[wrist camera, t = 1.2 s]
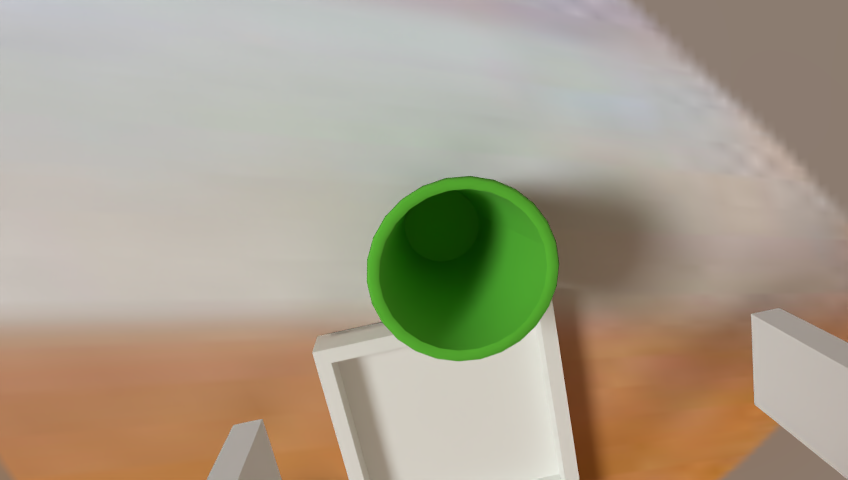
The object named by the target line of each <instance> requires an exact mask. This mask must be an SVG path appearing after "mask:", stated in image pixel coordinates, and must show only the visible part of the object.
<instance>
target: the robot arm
mask: <svg viewBox="0 0 848 480" xmlns="http://www.w3.org/2000/svg"><path fill="white" fill-rule="evenodd" d="M751 322H752V350H753V378H754V404H755V405H756V406H757V407H758V408H760V409H761V410H762V411H763V412H765V413H766V414H767V415H768V416H770V417H771V418H772V419H773V420H775V421H776V422H777V423H778V424H780V425H781V426H782V427H783V428H784V429H786V430H787V431H788V432H789V433H791V434H792V435H793V436H795V437H796V438H797V439H798V440H799V441H801V442H802V443H803V444H804V445H806V446H807V447H808V448H809V449H811V450H812V451H813V452H814V453H816V454H817V455H818V456H819V457H821V458H822V459H823V460H824V461H825V462H827V463H828V464H829V465H830V466H832V467H833V468H834V469H836V470H837V471H838V472H839V473H840V474H842V475H843V476H844V477H845V478H847V479H848V343H847V342H845V341H843V340H841V339H839V338H838V337H836V336H834V335H832V334H830V333H828V332H826V331H824V330H822V329H820V328H818V327H816V326H814V325H812V324H810V323H808V322H806V321H804V320H802V319H800V318H798V317H796V316H794V315H792V314H790V313H788V312H786V311H784V310H782V309H780V308H776V309H772V310H767V311H762V312H758V313H753V314H751ZM207 480H282V479H281V476H280V473H279V469H278V466H277V463H276V460H275V457H274V454H273V451H272V448H271V444H270V441H269V438H268V435H267V432H266V429H265V426H264V423H263V419H260V420H255V421H251V422H246V423H241V424H237V425H233V427H232V429H231V431H230V433H229V435H228V437H227V439H226V441H225V443H224V445H223V447H222V449H221V451H220V454H219V456H218V458H217V460H216V462H215V464H214V466H213V468H212V470H211V472H210V474H209V476H208V478H207Z"/></svg>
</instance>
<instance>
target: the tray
mask: <svg viewBox="0 0 848 480" xmlns="http://www.w3.org/2000/svg"><path fill="white" fill-rule="evenodd" d="M312 353H313V357H314V360H315V364H316V367H317V370H318V374H319V377H320V381H321V384H322V388H323V391H324V395H325V398H326V402H327V405H328V408H329V412H330V415H331V419H332V422H333V426H334V429H335V433H336V436H337V440H338V443H339V447H340V450H341V453H342V457H343V460H344V464H345V467H346V471H347V474H348V478H349V480H579V474H578V467H577V460H576V454H575V447H574V441H573V434H572V427H571V421H570V414H569V408H568V401H567V394H566V388H565V381H564V375H563V368H562V361H561V355H560V348H559V341H558V335H557V328H556V322H555V315H554V308H553V302H552V300H551V302H550V305H549V307H548V309H547V310H546V312H545V313H544V315H543V316H542V318H541V319H540V321H539V323H538V324H537V326H536V327H535V328H534V329H532V330H531V331H530V332H529V333H528V334H527V335H526V336H525V337H524V338H523V339H522V340H521V341H520V342H518V343H516V344H515V345H513V346H511V347H509V348H508V349H506V350H504V351H503V352H501V353H498V354H495V355H492V356H489V357H486V358H483V359H478V360H468V361H451V360H442V359H436V358H433V357H430V356H427V355H425V354H422V353H419V352H416V351H415V350H413V349H411V348H410V347H408V346H407V345H405V344H404V343H402V342H401V341H399V340H398V339H397V338H396V337H395V336H394V335H393V334H392V333H391V332H390V331H389V330H388V328H387V327H386V326H385V325H384V324H383V323H382V322H380V323H376V324H371V325H367V326H362V327H358V328H353V329H348V330H344V331H339V332H335V333H330V334H326V335H321V336H317V339H316V343H315V346H314V349H313V352H312Z"/></svg>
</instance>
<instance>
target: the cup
mask: <svg viewBox="0 0 848 480" xmlns="http://www.w3.org/2000/svg"><path fill="white" fill-rule="evenodd" d="M558 269H559V260H558V253H557V245H556V241H555V238H554V236H553V233H552V231H551V229H550V226H549V224H548V221H547V220H546V219H545V217H544V216H543V215H542V213H541V212H540V211H539V210H538V208H537V207H536V206H535V204H534V203H533V202H531V201H530V200H529V199H528V198H526V197H525V196H524V195H522V194H521V193H520V192H519V191H517V190H516V189H514V188H512V187H509V186H507V185H505V184H502V183H500V182H498V181H495V180H492V179H485V178H479V177H473V176H465V177H454V178H445V179H442V180H439V181H436V182H433V183H430V184H427V185H424V186H422V187H420V188H419V189H417V190H416V191H414V192H412V193H411V194H409V195H408V196H406V197H405V198H403V199H402V200H401V201H400V202H399V203H398V204H397V205H396V206H395V207H394V208H393V209H392V210H391V211H390V212H389V213H388V214H387V215H386V216H385V218H384V220H383V221H382V223H381V225H380V227H379V228H378V230H377V232H376V234H375V235H374V237H373V241H372V244H371V248H370V252H369V255H368V259H367V284H368V289H369V293H370V297H371V301H372V304H373V306H374V308H375V310H376V312H377V314H378V316H379V317H380V319H381V321H382V323H383V324H384V325H385V326H386V327H387V328H388V330H389V331H390V332H391V333H392V334H393V335H394V336H395V337H396V338H397V339H398V340H399V341H401V342H402V343H404V344H405V345H407V346H408V347H410V348H411V349H413V350H415V351H416V352H419V353H422V354H425V355H427V356H430V357H433V358H436V359H442V360H451V361H468V360H478V359H483V358H486V357H489V356H492V355H495V354H498V353H501V352H503V351H504V350H506V349H508V348H509V347H511V346H513V345H515V344H516V343H518V342H520V341H521V340H522V339H523V338H524V337H525V336H526V335H527V334H528V333H529V332H530V331H531V330H532V329H534V328H535V327H536V326H537V324H538V323H539V321H540V319H541V318H542V316H543V315H544V313H545V312H546V310H547V309H548V307H549V305H550V302H551V300H552V297H553V294H554V292H555V289H556V286H557V278H558Z"/></svg>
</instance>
